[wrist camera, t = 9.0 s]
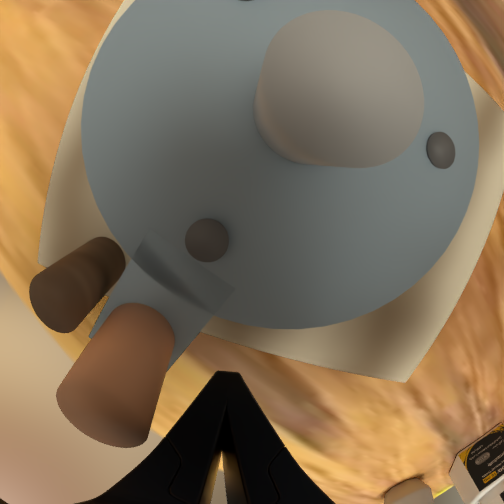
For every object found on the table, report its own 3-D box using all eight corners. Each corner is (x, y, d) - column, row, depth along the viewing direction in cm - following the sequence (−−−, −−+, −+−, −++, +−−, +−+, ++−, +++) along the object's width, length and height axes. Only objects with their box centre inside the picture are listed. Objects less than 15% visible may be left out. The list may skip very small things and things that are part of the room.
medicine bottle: (501, 420, 20) (544, 481, 8) (488, 446, 22) (523, 500, 10) (456, 452, 20) (496, 522, 9) (447, 473, 22) (478, 534, 11)
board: (506, 128, 11) (569, 131, 6) (398, 372, 15) (435, 430, 10) (169, -45, 8) (147, -106, 3) (48, 256, 12) (-17, 298, 7)
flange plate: (260, -74, 5) (271, -153, 1) (496, 128, 8) (583, 133, 4) (13, 246, 9) (-71, 294, 4) (262, 413, 12) (272, 508, 7)
